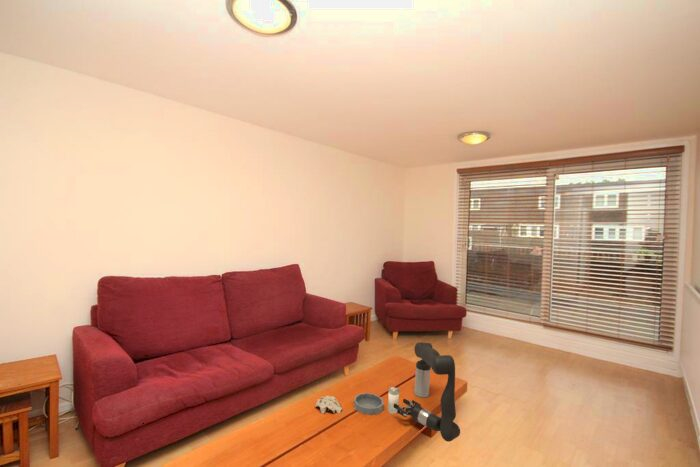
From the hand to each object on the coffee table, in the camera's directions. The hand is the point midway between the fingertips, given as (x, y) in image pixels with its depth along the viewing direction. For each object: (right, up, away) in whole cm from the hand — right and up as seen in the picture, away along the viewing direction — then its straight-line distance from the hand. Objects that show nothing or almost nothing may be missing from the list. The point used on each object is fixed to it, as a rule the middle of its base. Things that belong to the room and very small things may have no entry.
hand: (398, 402), depth 188 cm
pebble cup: (-3, -6, +3) cm, 8 cm away
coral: (-41, -5, +2) cm, 41 cm away
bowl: (-17, -5, +6) cm, 19 cm away
